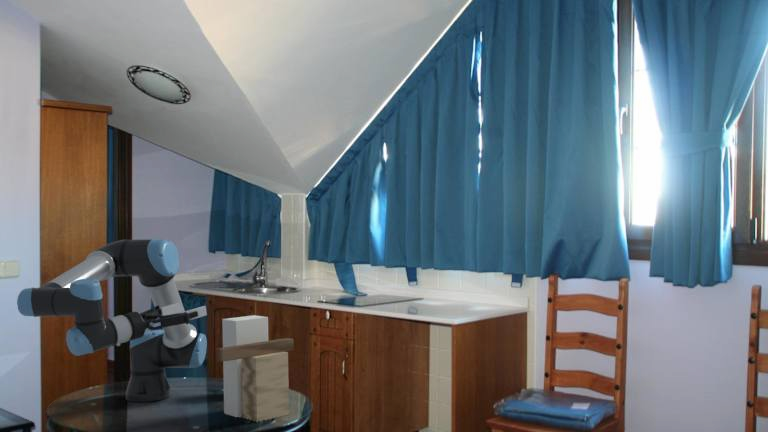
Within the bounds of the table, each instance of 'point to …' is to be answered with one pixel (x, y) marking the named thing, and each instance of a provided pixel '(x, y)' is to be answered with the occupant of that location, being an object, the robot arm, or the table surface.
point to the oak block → (265, 386)
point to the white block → (233, 335)
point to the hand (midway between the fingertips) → (193, 308)
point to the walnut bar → (254, 349)
